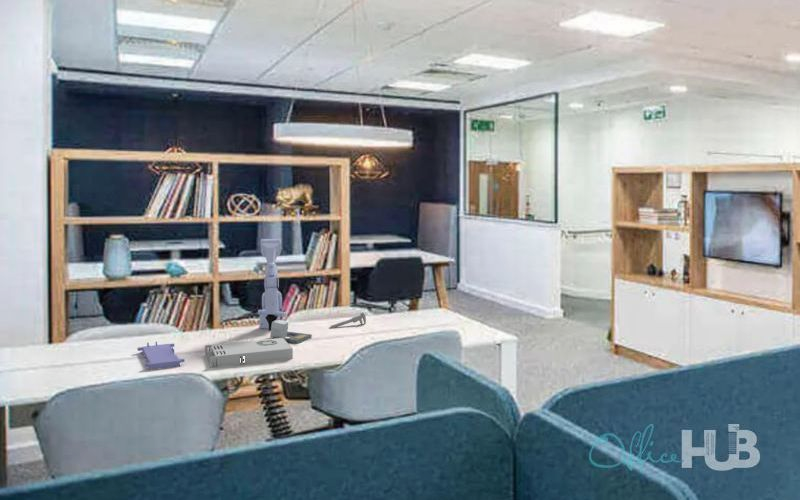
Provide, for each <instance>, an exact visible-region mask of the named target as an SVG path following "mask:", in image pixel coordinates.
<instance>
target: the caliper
mask: <svg viewBox="0 0 800 500" xmlns="http://www.w3.org/2000/svg"><path fill="white" fill-rule="evenodd" d="M358 321H359V323H360V325H363V323H364V324H366V323H367V322H366V321H367V318H366V314H365V313H364V311H362V312H360V313H359V315H356V316H354V317H352V318H350V319H346V320H343V321H340V322H338V323H334V324H331V325H330V326H329V327H328V329H335V328H338V327H342V326H345V325H347V324H350V323H353V324H354V323H357V322H358Z"/></svg>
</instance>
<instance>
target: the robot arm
mask: <svg viewBox="0 0 800 500" xmlns="http://www.w3.org/2000/svg"><path fill="white" fill-rule="evenodd" d="M281 251H282V240H281V238H261V239H260V253H261V256H263V257H264V258H265V260H266V265H265V266H264V277H263V278H264V279H263V281H264V282H263V283H264V292H263V293H262V295H261V309H258V310H257V315H259V326H258V328H260V329H266V330H267V329H268V331H269V332H271V325H272V322H273V321H275V320H281V317H282V318H286V317H287V312H285V311H281V309H282V308H283V297H282V296H283V295H282V293H281V292H280V291H279V286H280V285H279V282H280V279H279V274H278V265H277V264H276V260H277V257H279V256H281Z"/></svg>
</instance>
